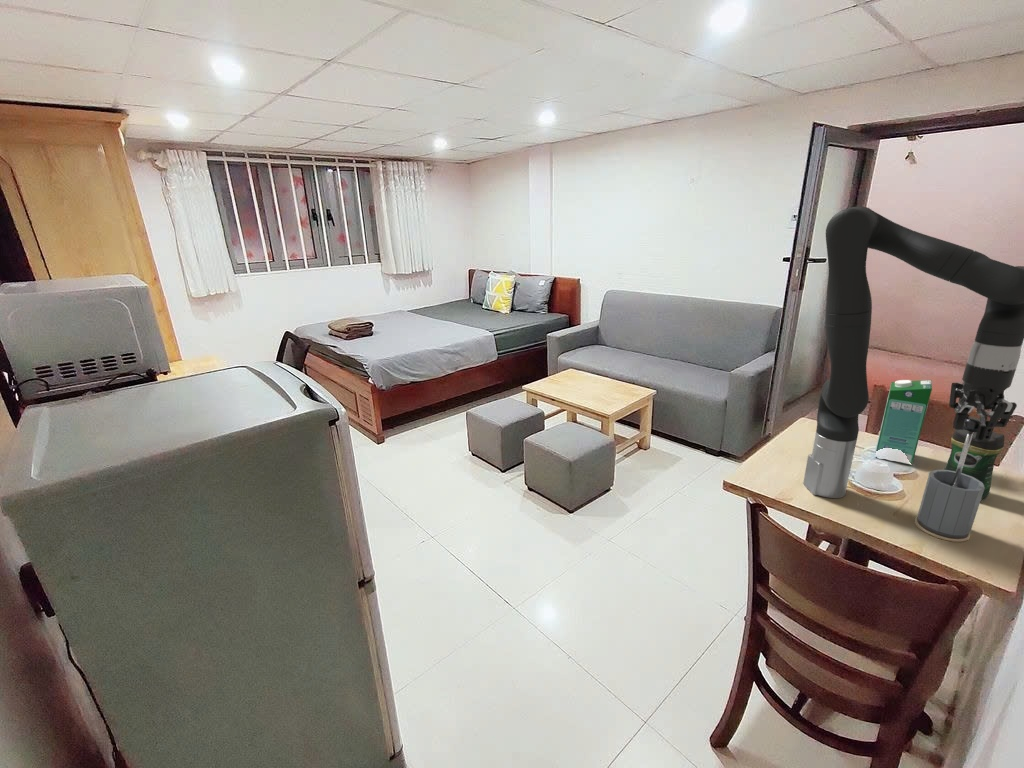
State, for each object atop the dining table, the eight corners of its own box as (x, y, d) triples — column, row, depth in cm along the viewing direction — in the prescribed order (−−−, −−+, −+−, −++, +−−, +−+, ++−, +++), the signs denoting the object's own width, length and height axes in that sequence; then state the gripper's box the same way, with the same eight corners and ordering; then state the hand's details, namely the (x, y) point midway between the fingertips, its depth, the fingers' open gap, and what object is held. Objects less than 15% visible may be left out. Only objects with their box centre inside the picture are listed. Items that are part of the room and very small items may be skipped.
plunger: (947, 501, 107) (970, 425, 100) (926, 485, 113) (946, 413, 107) (979, 501, 106) (1004, 425, 100) (956, 486, 112) (978, 413, 106)
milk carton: (876, 446, 152) (893, 374, 144) (912, 454, 147) (931, 379, 138) (874, 457, 146) (891, 383, 137) (911, 465, 140) (932, 388, 132)
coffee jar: (992, 495, 124) (1013, 432, 118) (977, 504, 121) (998, 440, 115) (947, 479, 132) (965, 419, 126) (932, 486, 129) (950, 426, 123)
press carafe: (934, 541, 109) (949, 491, 104) (904, 515, 118) (917, 468, 114) (981, 542, 108) (998, 491, 103) (948, 516, 117) (962, 469, 112)
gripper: (946, 354, 106) (928, 422, 112) (1001, 374, 93) (978, 449, 98) (982, 353, 105) (962, 421, 111) (1043, 373, 92) (1017, 449, 97)
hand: (969, 434), depth 104 cm, fingers open, 5 cm apart
